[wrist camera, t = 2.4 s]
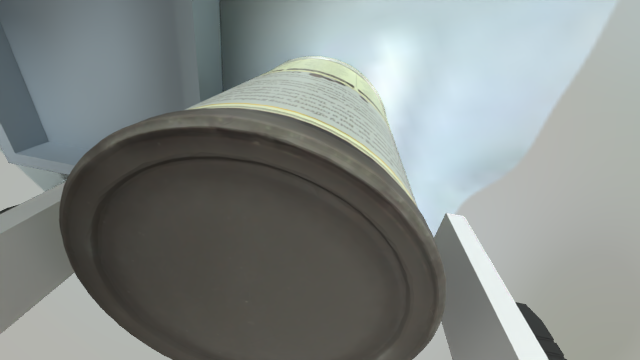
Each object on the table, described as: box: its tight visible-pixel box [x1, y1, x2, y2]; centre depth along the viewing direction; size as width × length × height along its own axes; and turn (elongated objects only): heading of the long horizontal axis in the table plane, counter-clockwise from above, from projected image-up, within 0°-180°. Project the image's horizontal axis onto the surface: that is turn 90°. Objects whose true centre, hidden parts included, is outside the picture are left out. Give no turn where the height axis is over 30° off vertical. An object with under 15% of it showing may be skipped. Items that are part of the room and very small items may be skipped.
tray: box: [0, 0, 223, 175], centre depth 17 cm, size 16×16×3 cm
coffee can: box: [59, 56, 446, 360], centre depth 13 cm, size 10×10×14 cm
